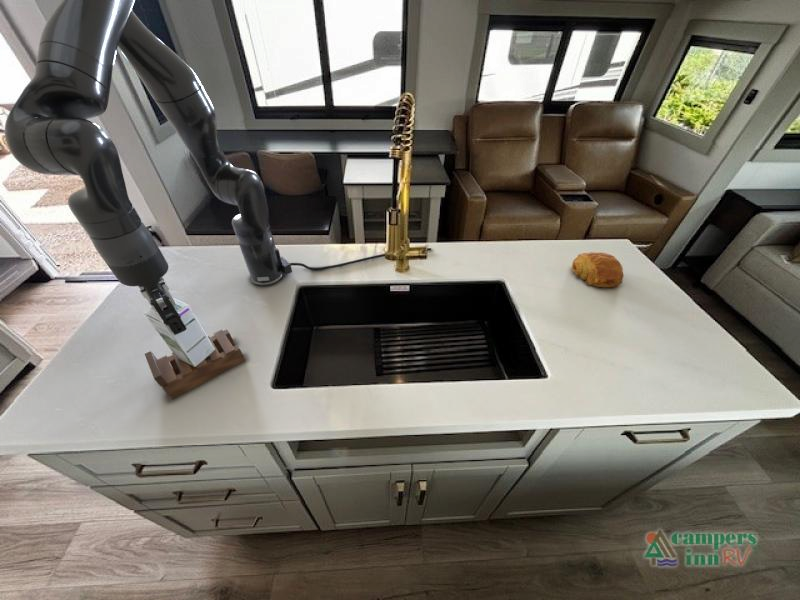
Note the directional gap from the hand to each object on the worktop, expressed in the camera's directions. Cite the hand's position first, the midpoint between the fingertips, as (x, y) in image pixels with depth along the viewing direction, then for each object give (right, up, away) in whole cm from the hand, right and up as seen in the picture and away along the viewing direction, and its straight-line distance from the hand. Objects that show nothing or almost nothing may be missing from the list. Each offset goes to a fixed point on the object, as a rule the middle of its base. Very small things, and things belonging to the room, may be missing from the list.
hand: (174, 320), depth 65 cm
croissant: (+109, +12, +42) cm, 118 cm away
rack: (0, -12, +11) cm, 16 cm away
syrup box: (0, -8, +8) cm, 11 cm away
